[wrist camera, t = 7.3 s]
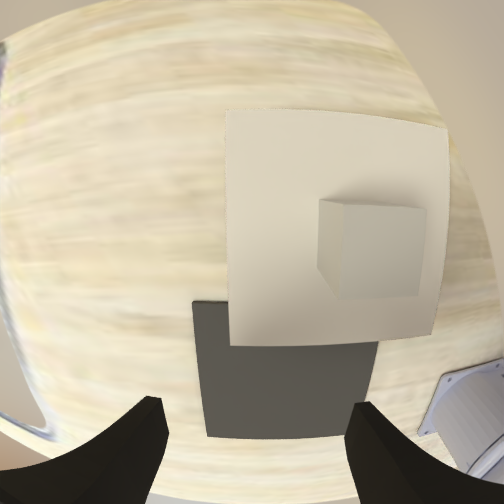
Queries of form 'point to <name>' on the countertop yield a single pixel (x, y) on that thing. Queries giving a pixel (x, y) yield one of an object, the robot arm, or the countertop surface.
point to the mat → (276, 382)
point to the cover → (333, 226)
